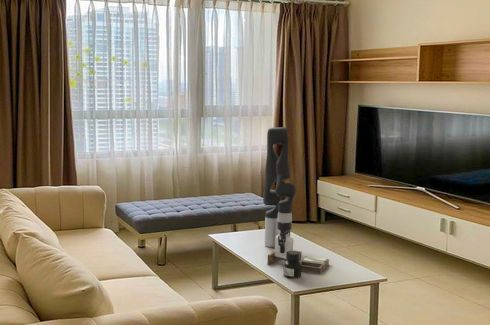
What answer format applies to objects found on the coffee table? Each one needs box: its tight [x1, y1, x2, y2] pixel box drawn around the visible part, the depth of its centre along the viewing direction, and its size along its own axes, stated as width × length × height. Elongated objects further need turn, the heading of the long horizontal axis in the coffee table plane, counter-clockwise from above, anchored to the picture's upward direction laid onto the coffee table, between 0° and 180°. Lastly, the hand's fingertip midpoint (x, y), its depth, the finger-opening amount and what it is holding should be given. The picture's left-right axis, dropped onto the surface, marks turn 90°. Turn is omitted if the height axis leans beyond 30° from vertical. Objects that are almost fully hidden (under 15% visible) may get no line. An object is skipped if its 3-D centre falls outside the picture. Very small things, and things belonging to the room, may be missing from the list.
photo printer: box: [274, 235, 294, 260], centre depth 316 cm, size 10×4×12 cm, turn 57°
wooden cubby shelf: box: [267, 249, 302, 265], centre depth 318 cm, size 14×14×5 cm
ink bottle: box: [283, 250, 303, 279], centre depth 297 cm, size 10×9×12 cm
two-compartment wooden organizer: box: [300, 255, 330, 275], centre depth 311 cm, size 17×13×3 cm
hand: (283, 251), depth 316 cm, fingers closed on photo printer, 4 cm apart
